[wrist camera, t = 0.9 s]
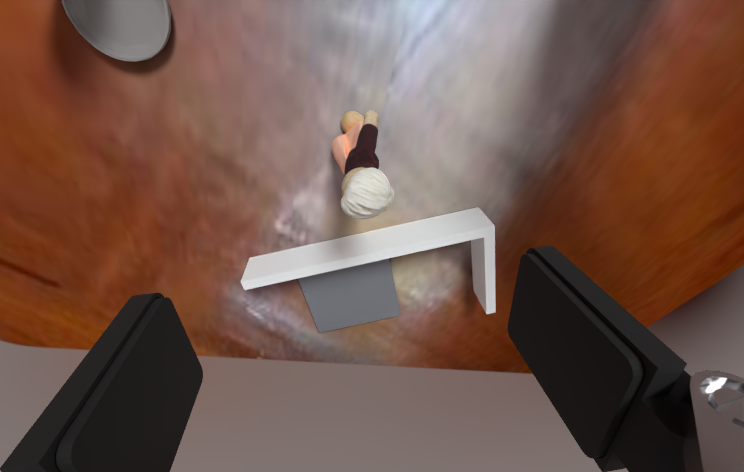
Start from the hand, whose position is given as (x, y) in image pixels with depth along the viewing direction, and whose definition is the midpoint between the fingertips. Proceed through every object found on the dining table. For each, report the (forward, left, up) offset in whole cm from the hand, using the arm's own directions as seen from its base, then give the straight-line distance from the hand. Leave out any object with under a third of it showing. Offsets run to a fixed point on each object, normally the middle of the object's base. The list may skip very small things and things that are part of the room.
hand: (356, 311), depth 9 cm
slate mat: (+3, +18, -23) cm, 29 cm away
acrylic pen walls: (0, +16, -23) cm, 28 cm away
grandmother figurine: (-1, +2, -23) cm, 23 cm away
